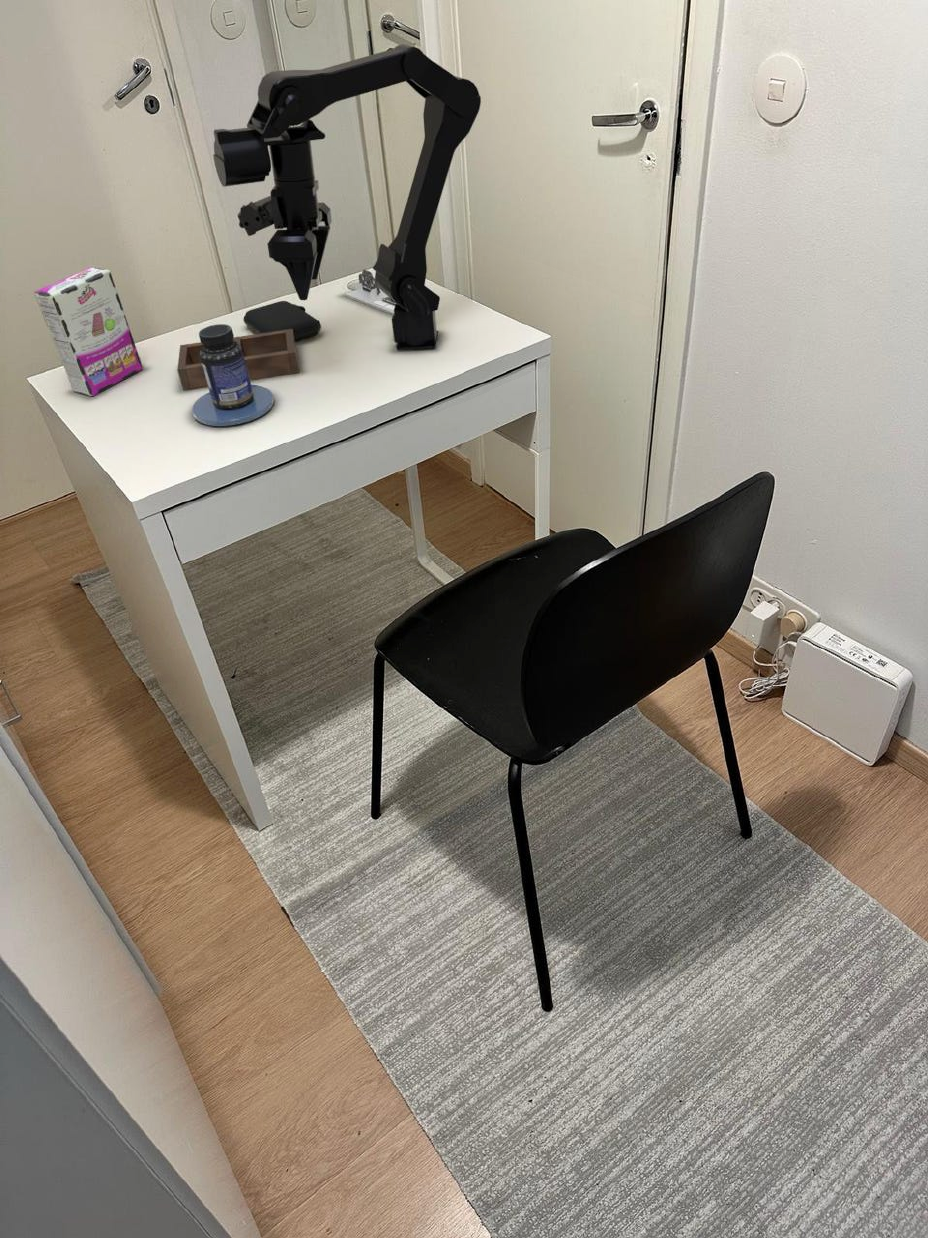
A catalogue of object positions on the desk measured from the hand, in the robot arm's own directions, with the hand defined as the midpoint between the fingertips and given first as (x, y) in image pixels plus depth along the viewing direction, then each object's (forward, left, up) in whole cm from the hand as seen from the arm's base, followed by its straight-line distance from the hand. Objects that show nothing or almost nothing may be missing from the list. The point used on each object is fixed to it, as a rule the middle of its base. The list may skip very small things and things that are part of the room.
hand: (308, 289), depth 136 cm
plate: (+11, +13, -13) cm, 21 cm away
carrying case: (+10, -16, -13) cm, 23 cm away
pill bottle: (+11, +13, -12) cm, 21 cm away
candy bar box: (+36, +1, -13) cm, 38 cm away
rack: (+14, -1, -13) cm, 19 cm away
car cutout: (-6, -28, -13) cm, 32 cm away
